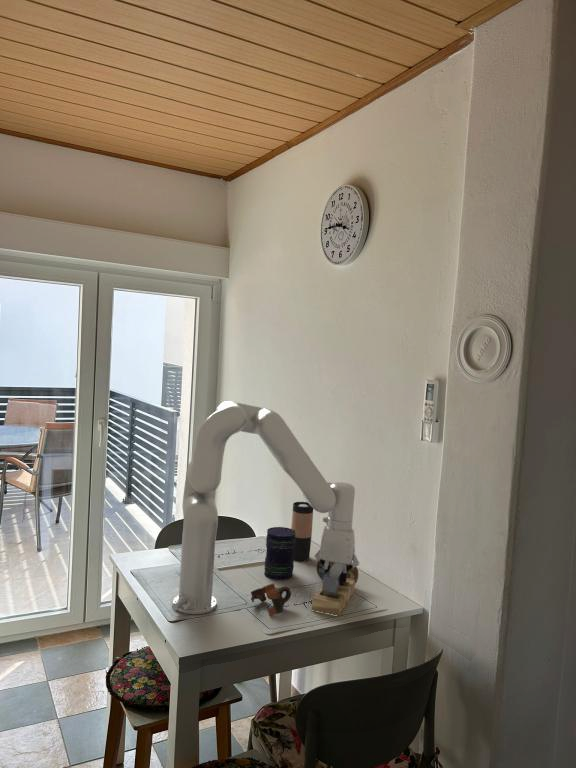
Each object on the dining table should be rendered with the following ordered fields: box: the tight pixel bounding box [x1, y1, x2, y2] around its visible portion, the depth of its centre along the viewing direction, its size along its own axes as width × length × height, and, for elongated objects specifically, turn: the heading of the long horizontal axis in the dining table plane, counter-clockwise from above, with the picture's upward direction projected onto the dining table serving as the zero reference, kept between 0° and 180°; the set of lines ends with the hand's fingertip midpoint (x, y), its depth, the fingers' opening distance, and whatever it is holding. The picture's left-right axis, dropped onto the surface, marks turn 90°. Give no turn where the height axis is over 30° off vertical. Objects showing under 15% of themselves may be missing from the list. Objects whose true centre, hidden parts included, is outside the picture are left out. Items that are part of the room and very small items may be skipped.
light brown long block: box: [311, 578, 356, 616], centre depth 180 cm, size 20×8×4 cm, turn 160°
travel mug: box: [290, 501, 314, 562], centre depth 215 cm, size 8×8×20 cm
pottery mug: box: [250, 583, 292, 617], centre depth 172 cm, size 12×10×8 cm
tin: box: [316, 559, 359, 584], centre depth 194 cm, size 15×3×8 cm, turn 54°
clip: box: [321, 563, 346, 599], centre depth 179 cm, size 14×4×9 cm, turn 160°
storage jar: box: [263, 526, 296, 581], centre depth 197 cm, size 10×10×15 cm
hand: (335, 582), depth 179 cm, fingers closed on clip, 3 cm apart
